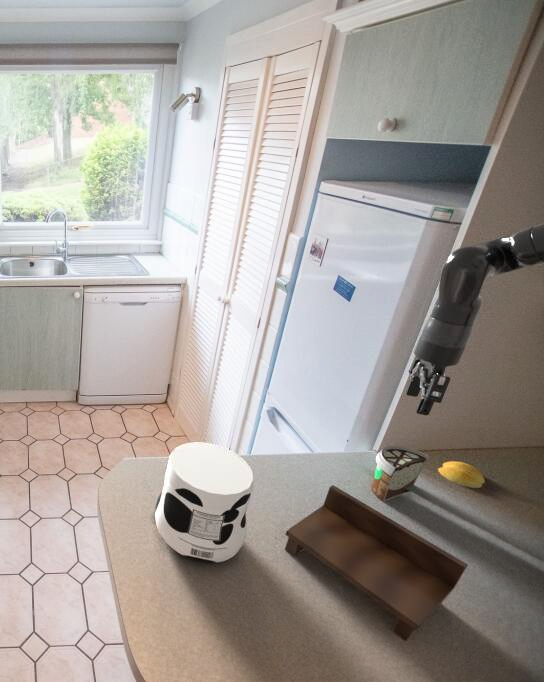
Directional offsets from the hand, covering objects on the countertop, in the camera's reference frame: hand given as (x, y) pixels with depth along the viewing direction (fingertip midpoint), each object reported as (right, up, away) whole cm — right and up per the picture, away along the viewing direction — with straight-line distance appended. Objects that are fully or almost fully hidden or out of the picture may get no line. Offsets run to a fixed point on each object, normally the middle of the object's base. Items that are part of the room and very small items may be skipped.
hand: (416, 404), depth 102 cm
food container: (-4, -20, +4) cm, 21 cm away
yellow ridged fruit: (+15, -19, +6) cm, 26 cm away
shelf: (-25, -30, -17) cm, 43 cm away
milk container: (-53, -26, -8) cm, 60 cm away
